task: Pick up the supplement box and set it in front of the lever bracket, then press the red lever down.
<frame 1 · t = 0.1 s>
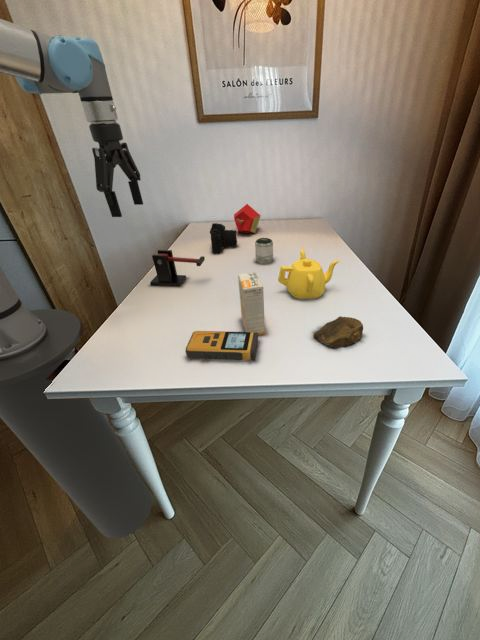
hand: (128, 210, 93), 21 cm above the table, tool pointing down, fingers open, 13 cm apart
film camera: (224, 247, 125), on the table
electronic device: (223, 351, 72), on the table
decorative stone: (336, 336, 75), on the table
supplement box: (253, 327, 80), on the table
teapot: (306, 290, 94), on the table
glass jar: (264, 261, 112), on the table
red pentagonal block: (248, 232, 139), on the table
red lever: (180, 259, 96), point 8 cm above the table, hinge at -2.6°
lever bracket: (169, 282, 102), on the table
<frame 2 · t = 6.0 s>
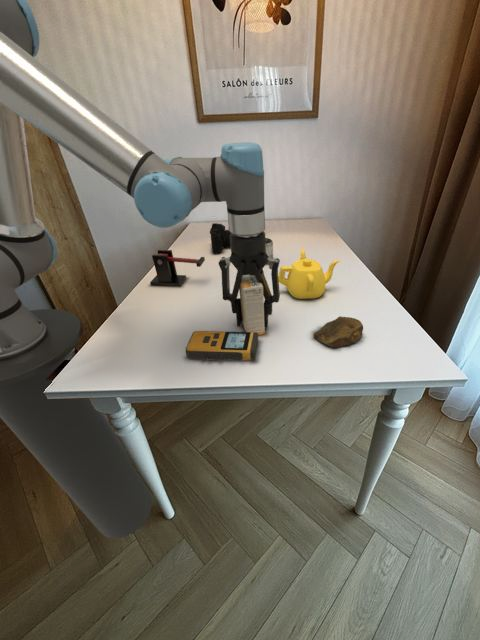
hand: (253, 323, 79), 1 cm above the table, tool pointing down, fingers closed on supplement box, 6 cm apart
supplement box: (253, 327, 80), on the table, touching gripper
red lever: (180, 260, 96), point 8 cm above the table, hinge at -3.5°
everything else where it was.
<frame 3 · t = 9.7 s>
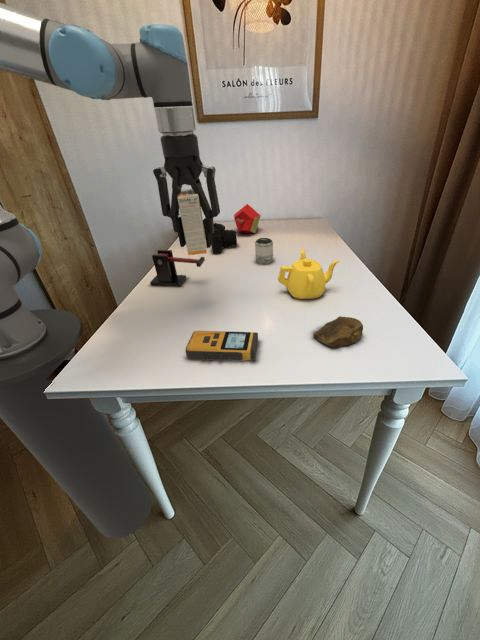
hand: (196, 245, 78), 17 cm above the table, tool pointing down, fingers closed on supplement box, 6 cm apart
supplement box: (197, 249, 79), point 16 cm above the table, touching gripper
everything else where it was.
when the fingers open (1 cm above the table, at t = 13.6 s): supplement box stays where it is, on the table.
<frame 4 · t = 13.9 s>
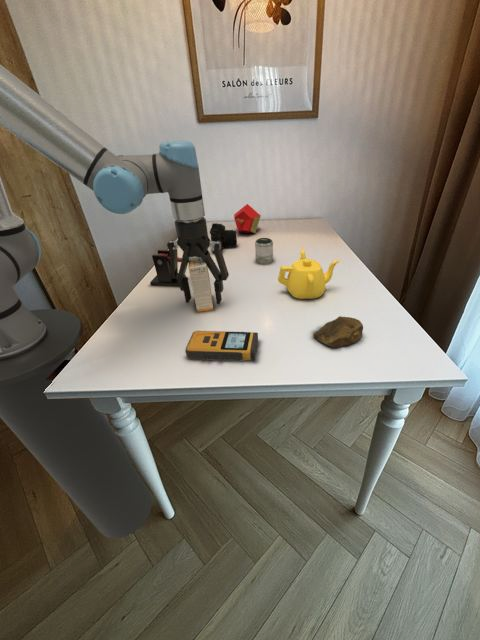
hand: (203, 300, 89), 1 cm above the table, tool pointing down, fingers open, 8 cm apart
supplement box: (204, 304, 90), on the table
everything else where it was.
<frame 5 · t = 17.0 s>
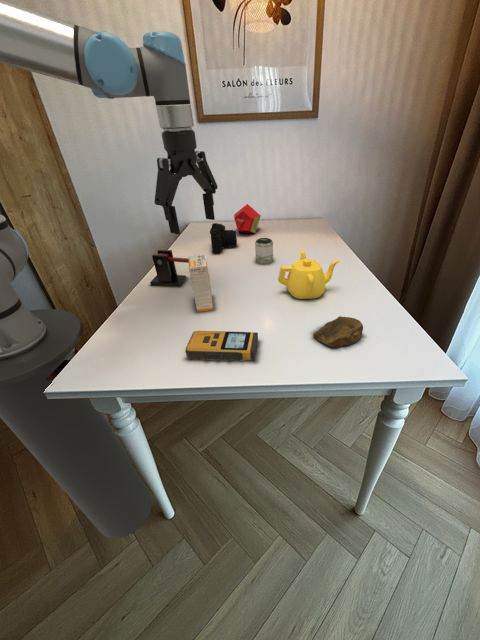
hand: (193, 225, 84), 20 cm above the table, tool pointing down, fingers open, 13 cm apart
nothing on the table moved.
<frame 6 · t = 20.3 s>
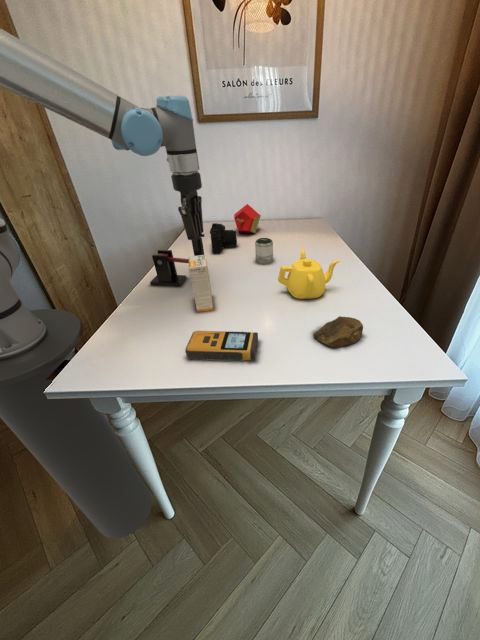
hand: (200, 259, 95), 8 cm above the table, tool pointing down, fingers closed
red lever: (180, 260, 96), point 8 cm above the table, hinge at -4.8°, touching gripper
everything else where it was.
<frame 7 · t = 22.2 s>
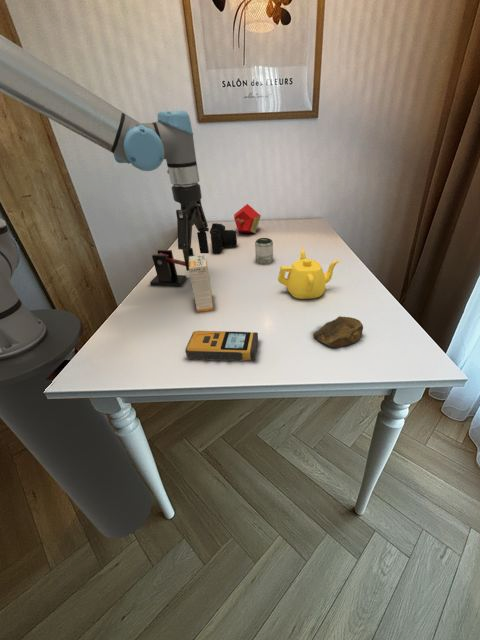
hand: (198, 261, 95), 7 cm above the table, tool pointing down, fingers open, 13 cm apart
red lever: (180, 262, 97), point 7 cm above the table, hinge at -12.8°
everything else where it was.
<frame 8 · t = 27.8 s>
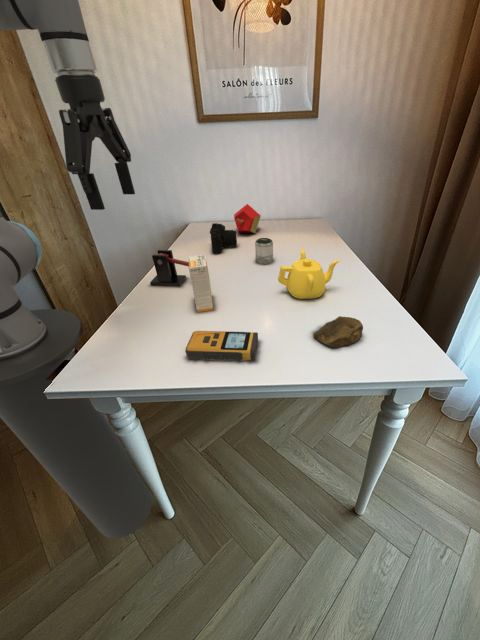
hand: (114, 201, 70), 29 cm above the table, tool pointing down, fingers open, 13 cm apart
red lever: (180, 262, 97), point 7 cm above the table, hinge at -11.8°
everything else where it was.
at the end: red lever reached -20° during the clip, -12° at the end; the gripper is holding nothing; supplement box inside the target area on the table beside the lever bracket (0.1 cm from its centre), on the table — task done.
